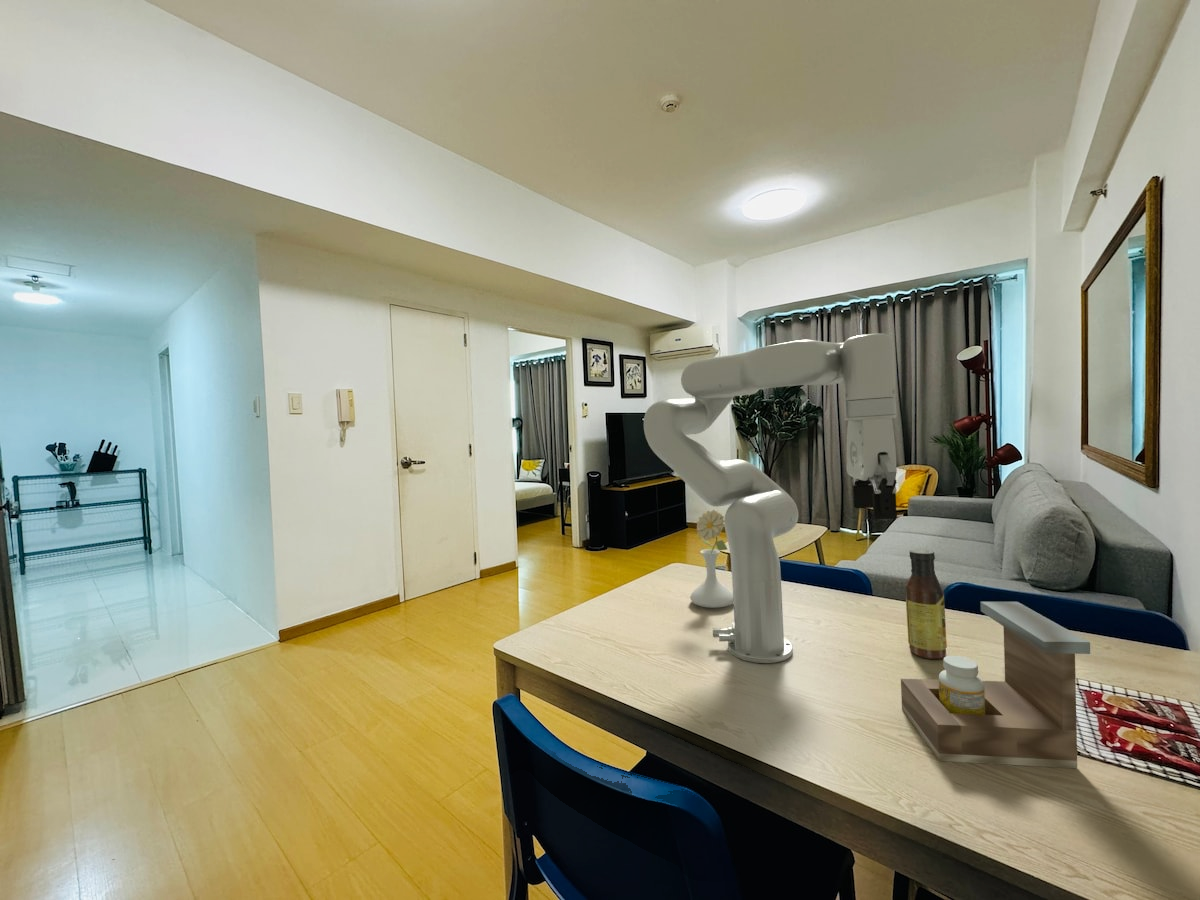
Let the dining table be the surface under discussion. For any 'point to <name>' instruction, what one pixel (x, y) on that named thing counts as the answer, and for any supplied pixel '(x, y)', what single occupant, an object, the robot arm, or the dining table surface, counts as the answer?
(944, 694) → the supplement bottle
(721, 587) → the flower in vase
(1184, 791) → the dining table surface
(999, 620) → the socket block
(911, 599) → the sauce bottle
